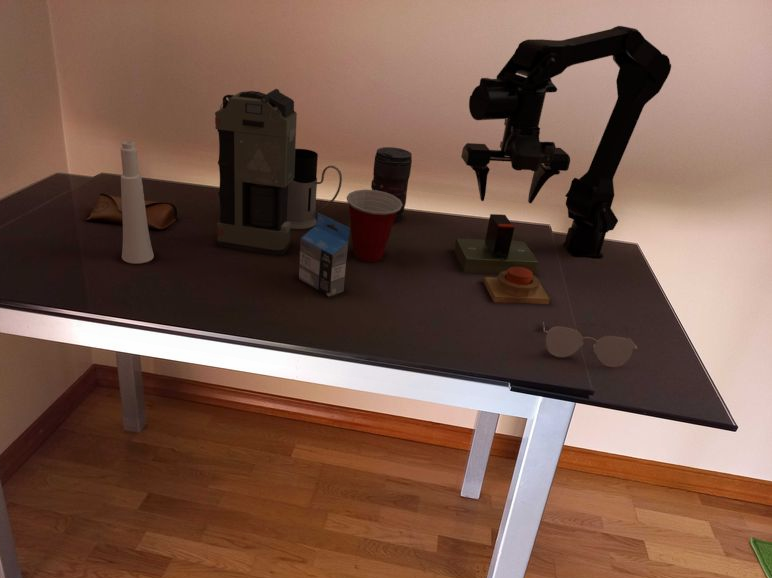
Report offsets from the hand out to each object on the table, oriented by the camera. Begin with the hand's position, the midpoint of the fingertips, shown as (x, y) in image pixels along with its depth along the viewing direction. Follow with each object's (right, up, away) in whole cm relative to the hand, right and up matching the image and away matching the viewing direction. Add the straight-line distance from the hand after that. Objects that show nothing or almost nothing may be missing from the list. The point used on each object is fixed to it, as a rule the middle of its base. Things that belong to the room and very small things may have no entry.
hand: (505, 201), depth 132 cm
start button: (+1, -16, -6) cm, 17 cm away
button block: (+1, -18, -4) cm, 18 cm away
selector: (0, -8, +5) cm, 10 cm away
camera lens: (-20, +2, +26) cm, 33 cm away
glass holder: (-38, -1, +20) cm, 43 cm away
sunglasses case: (-76, -1, +17) cm, 78 cm away
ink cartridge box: (-35, -17, -5) cm, 40 cm away
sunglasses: (+7, -28, -20) cm, 35 cm away
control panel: (-1, -11, +7) cm, 13 cm away
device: (-49, -7, +9) cm, 50 cm away
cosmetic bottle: (-70, -11, +1) cm, 71 cm away
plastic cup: (-26, -10, +7) cm, 28 cm away
